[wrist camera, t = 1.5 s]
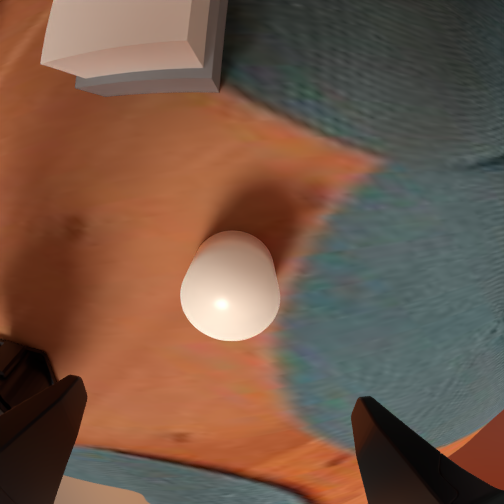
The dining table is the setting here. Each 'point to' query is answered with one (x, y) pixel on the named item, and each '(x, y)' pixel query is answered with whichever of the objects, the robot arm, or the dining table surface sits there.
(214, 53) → the tower base
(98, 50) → the tower top
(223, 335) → the white rounded cylinder
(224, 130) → the dining table surface
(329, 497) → the dining table surface
